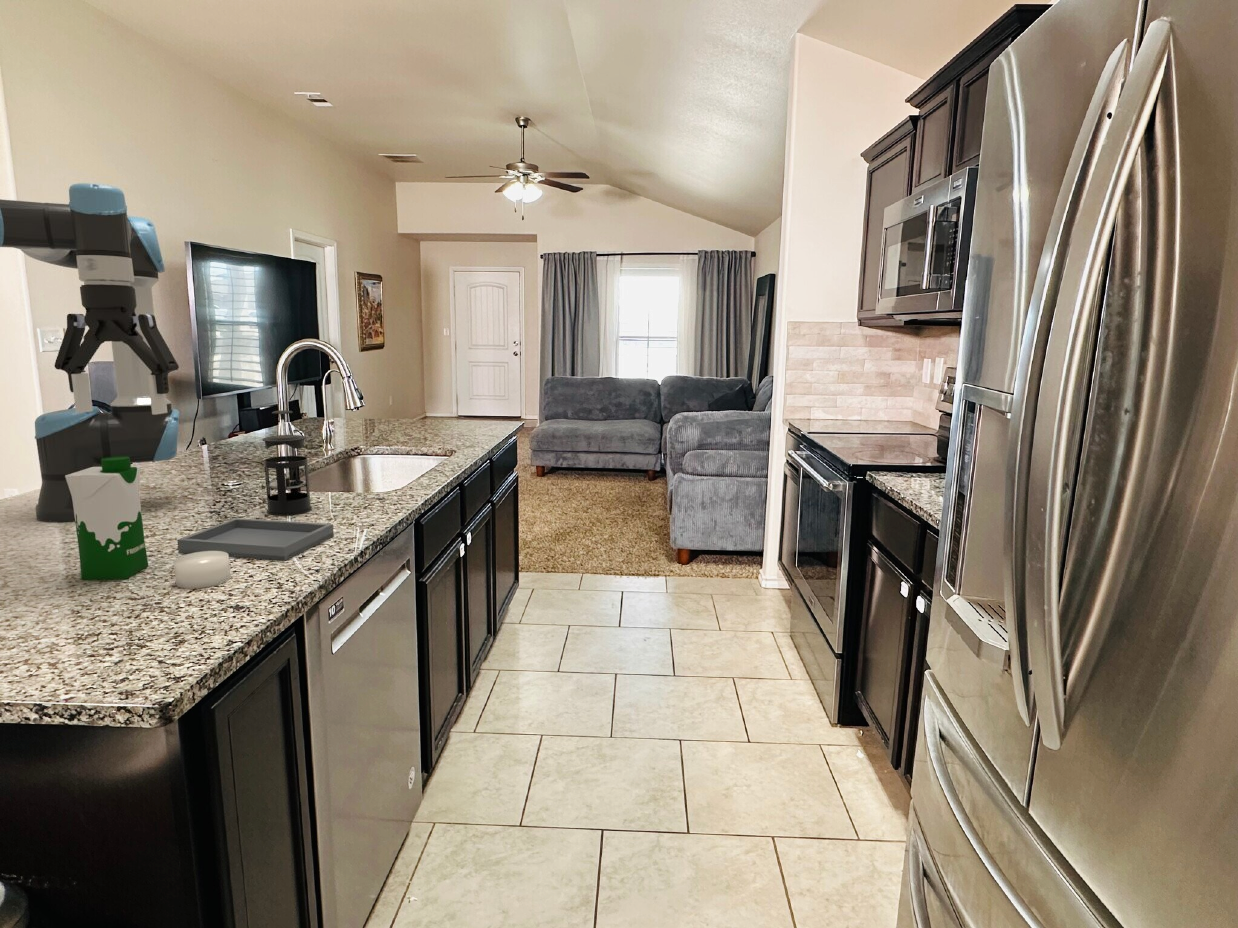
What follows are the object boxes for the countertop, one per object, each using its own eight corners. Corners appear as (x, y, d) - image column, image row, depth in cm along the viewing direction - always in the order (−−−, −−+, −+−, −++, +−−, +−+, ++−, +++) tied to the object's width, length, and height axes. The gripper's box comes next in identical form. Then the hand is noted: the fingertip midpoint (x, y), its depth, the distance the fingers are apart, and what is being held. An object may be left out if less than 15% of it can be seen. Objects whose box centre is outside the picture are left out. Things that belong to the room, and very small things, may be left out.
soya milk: (129, 581, 123) (115, 463, 119) (71, 582, 122) (55, 463, 119) (156, 564, 132) (144, 453, 128) (103, 565, 131) (89, 453, 127)
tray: (178, 552, 138) (177, 539, 138) (236, 529, 154) (235, 517, 153) (285, 560, 135) (284, 547, 134) (333, 536, 150) (332, 524, 150)
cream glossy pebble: (164, 587, 121) (161, 563, 120) (199, 571, 129) (197, 549, 128) (207, 590, 120) (205, 567, 119) (241, 574, 127) (239, 552, 127)
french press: (304, 516, 165) (297, 413, 161) (259, 517, 164) (251, 413, 159) (318, 503, 176) (312, 407, 172) (277, 504, 175) (269, 407, 171)
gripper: (16, 282, 119) (34, 413, 123) (163, 283, 117) (176, 416, 121) (55, 285, 126) (71, 409, 130) (194, 285, 124) (205, 411, 128)
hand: (122, 413), depth 126 cm, fingers open, 13 cm apart
